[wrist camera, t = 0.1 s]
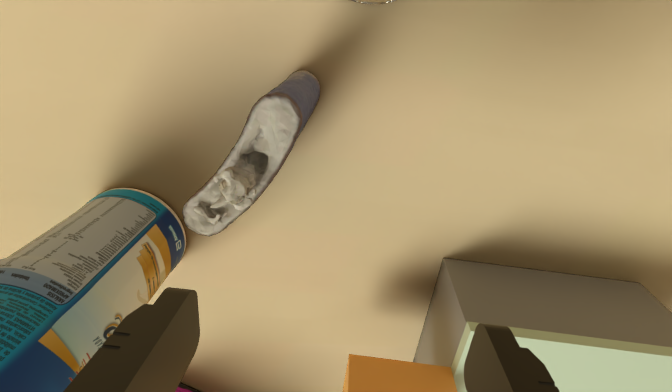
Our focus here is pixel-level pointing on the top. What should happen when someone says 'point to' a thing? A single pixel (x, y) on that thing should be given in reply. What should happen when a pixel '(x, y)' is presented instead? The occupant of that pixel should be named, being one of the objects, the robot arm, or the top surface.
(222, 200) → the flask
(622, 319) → the tub
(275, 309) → the top surface
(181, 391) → the candy bar box
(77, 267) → the beverage bottle
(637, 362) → the lid
